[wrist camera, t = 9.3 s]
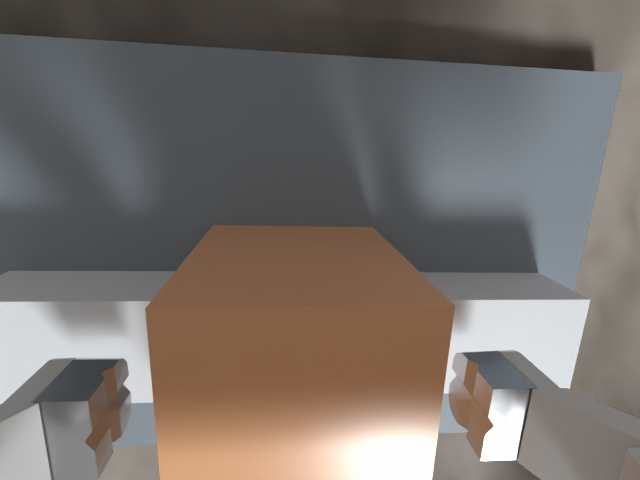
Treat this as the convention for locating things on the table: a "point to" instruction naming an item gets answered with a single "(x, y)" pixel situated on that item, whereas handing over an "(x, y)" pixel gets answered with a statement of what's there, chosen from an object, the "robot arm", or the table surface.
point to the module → (297, 358)
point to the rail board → (287, 187)
